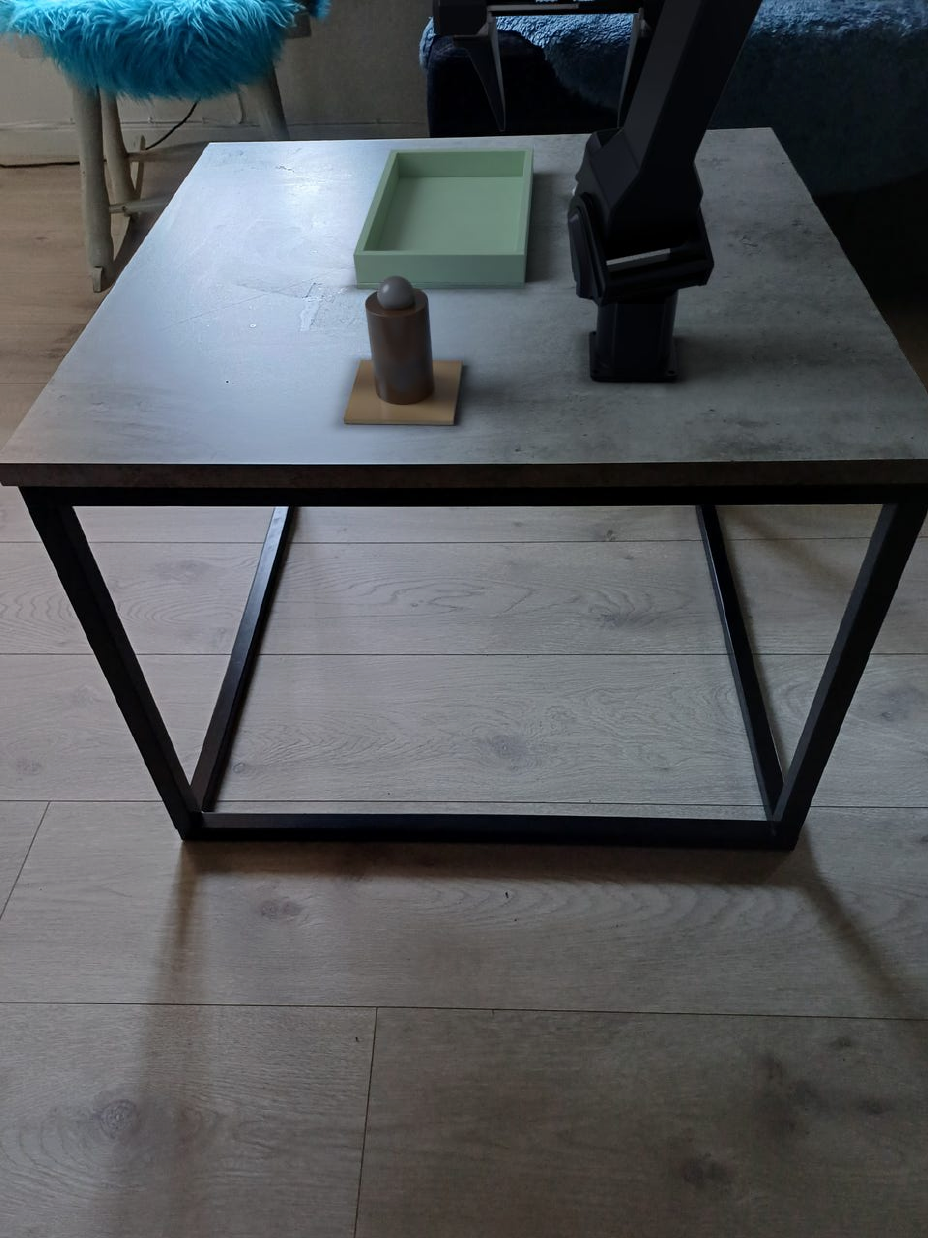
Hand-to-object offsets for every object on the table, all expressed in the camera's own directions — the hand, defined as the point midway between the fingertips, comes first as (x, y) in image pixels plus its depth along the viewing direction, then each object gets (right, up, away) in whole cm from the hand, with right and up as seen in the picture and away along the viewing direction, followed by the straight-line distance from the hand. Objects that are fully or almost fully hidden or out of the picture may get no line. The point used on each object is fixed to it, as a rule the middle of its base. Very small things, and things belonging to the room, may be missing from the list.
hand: (560, 128), depth 73 cm
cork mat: (-12, -22, -3) cm, 25 cm away
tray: (-9, -1, +16) cm, 18 cm away
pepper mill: (-12, -21, -4) cm, 25 cm away
